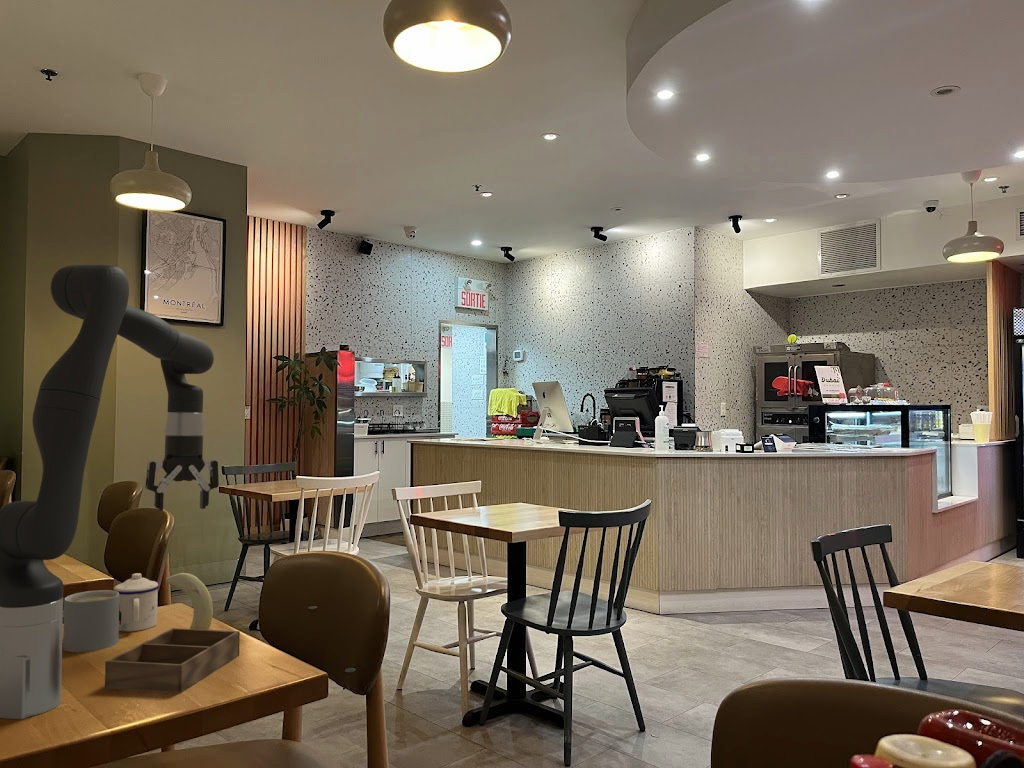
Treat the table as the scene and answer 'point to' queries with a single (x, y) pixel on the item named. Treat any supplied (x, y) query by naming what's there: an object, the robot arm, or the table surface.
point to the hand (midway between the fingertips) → (181, 509)
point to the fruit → (195, 598)
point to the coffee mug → (91, 621)
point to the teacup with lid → (137, 603)
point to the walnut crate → (172, 660)
